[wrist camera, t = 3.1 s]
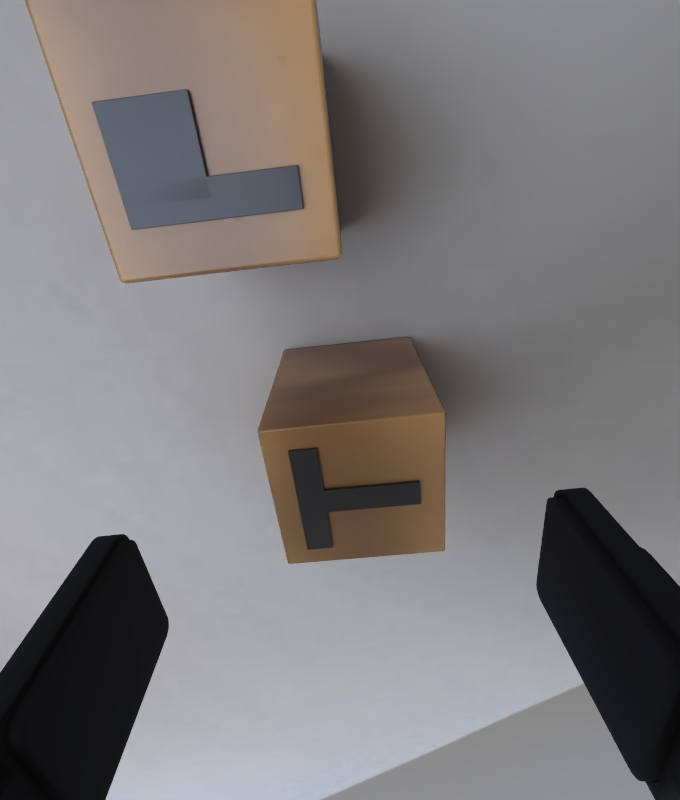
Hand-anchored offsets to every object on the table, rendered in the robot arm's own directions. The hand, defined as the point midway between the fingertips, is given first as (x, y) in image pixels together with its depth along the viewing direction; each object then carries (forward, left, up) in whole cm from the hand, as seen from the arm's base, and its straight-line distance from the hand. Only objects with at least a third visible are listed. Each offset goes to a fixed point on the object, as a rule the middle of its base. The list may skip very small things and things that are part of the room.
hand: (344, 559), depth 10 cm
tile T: (0, -1, -7) cm, 7 cm away
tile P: (+2, -9, -7) cm, 11 cm away
